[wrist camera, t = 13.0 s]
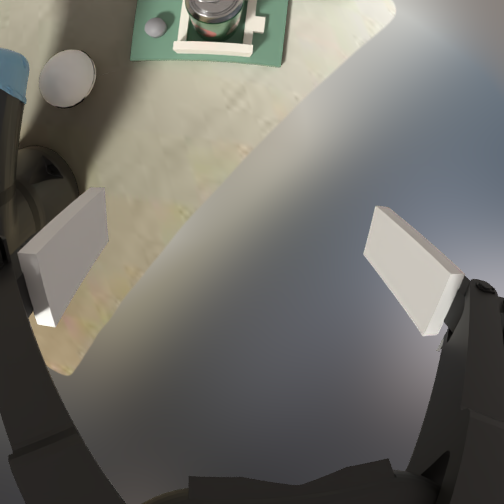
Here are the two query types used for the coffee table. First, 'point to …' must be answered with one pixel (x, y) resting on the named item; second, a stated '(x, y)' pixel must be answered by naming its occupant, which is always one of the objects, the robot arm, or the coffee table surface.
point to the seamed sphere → (67, 78)
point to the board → (196, 49)
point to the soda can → (215, 18)
